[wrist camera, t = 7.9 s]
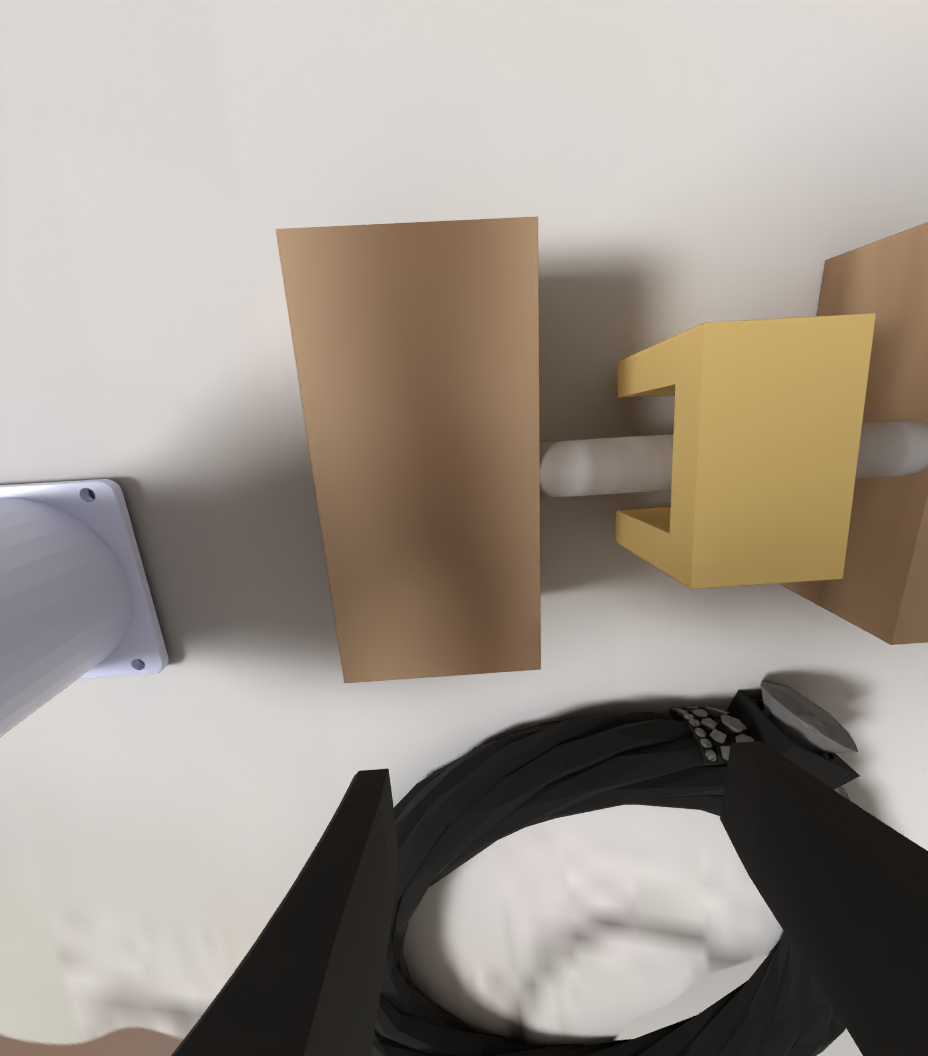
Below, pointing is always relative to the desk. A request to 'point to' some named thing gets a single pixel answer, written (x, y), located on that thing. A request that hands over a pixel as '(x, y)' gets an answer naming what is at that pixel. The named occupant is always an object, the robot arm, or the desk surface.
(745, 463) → the yellow block
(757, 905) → the desk surface
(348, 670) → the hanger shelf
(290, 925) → the robot arm
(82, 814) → the desk surface
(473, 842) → the cable lock
